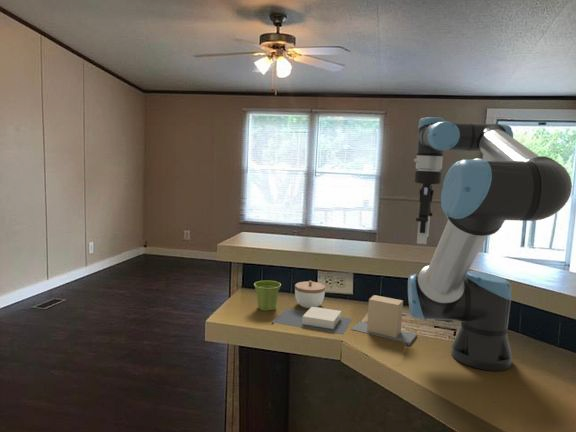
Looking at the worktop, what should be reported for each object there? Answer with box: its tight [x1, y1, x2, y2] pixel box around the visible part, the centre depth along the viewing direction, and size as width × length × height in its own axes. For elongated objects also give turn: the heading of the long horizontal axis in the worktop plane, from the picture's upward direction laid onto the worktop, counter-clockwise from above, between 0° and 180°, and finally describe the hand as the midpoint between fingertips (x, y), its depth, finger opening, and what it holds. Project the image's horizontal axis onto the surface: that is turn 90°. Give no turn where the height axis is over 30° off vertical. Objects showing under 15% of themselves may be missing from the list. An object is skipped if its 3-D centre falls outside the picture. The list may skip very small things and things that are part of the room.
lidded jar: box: [294, 280, 326, 309], centre depth 159 cm, size 11×11×9 cm
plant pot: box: [253, 280, 282, 312], centre depth 156 cm, size 9×9×9 cm
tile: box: [302, 306, 342, 330], centre depth 143 cm, size 3×10×10 cm
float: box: [350, 294, 418, 346], centre depth 136 cm, size 18×8×11 cm, turn 60°
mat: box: [271, 308, 353, 335], centre depth 144 cm, size 23×14×1 cm, turn 70°
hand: (422, 240), depth 138 cm, fingers open, 13 cm apart
